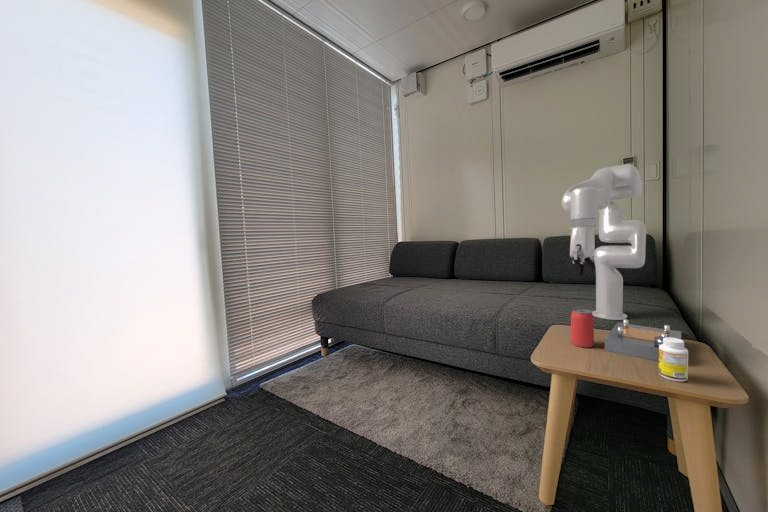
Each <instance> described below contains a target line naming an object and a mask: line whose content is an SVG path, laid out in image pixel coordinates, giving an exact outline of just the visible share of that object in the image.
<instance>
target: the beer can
mask: <svg viewBox="0 0 768 512" xmlns="http://www.w3.org/2000/svg"><path fill="white" fill-rule="evenodd" d="M592 312H593V310H590V309H587V308H574V309H572V312H571V315H570V342H571V344H572V345H573V346H575V347H577V348H578V347H579V348H583V347H584V349H588V348H589V347H590V348H592V347H594V346H595V318H594V317H595V316H593V314H592Z"/></svg>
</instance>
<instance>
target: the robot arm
mask: <svg viewBox="0 0 768 512" xmlns="http://www.w3.org/2000/svg"><path fill="white" fill-rule="evenodd" d="M642 192H643V180H642V179H641V175H640V172H639V170H638V168H637V167H636V166H635V165H634V164H632V163H631V164H630V163H627V164H620V165H614V166H609V167H602V168H600V169H598V170H597V171H595V172H594V173H593V175H592V176H591V177H590V178H589V179H587V180H584V181H582V182H579V183H577V184H574V185H573V186H571V187H569V188H567V190H566V191H565V192H564V194H563V195H562V199H561V207H562V209H563V211H566V212H567V213H570V230H571V233H570V242H569V243H570V246H569V257H570V258H571V259H572V276H575V277H584V276H585V274H594V266H595V310H592V314H593V317H595V318H599V319H601V320H602V319H603V320H610V321H611V320H612V321H623V319H626V320H628V315H627V314H626V313H624V311H623V308H624V307H623V303H624V302H623V301H624V300H623V299H624V298H623V297H624V291H623V290H624V279H623V277H624V276H623V275H622V274H621V272H620V271H619V270H618V269H619V268H620V269H639V268H640V269H641V268H642V267H643V266H644V265H645V263H646V244H647V243H646V242H647V230H646V225H645V223H644V222H643V221H641V220H639V219H638V220H637V219H629V220H624V212H625V211H624V208H623V207H622V206H621V205H620V204H619V203H618V202H617V201H616V200H624V199H633V198H638V197H639V196H640V195H641V194H642ZM598 212H599V216H598ZM598 217H599V219H598ZM598 220H599V221H598ZM595 229H598V238H599V240H600V242H603V243H611V244H612V243H615V244H617V243H618V244H623V243H624V244H625V243H626V244H627V243H629V244H631V245H600V246H598V247H596V246H595V244H596V243H595V242H596V241H595V240H596V239H595ZM595 247H596V248H595Z"/></svg>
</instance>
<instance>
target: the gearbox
mask: <svg viewBox="0 0 768 512" xmlns="http://www.w3.org/2000/svg"><path fill="white" fill-rule="evenodd" d="M622 321H623V322H618V321H617V322H616V323H615V324H614V326H613V327H612V329H611V330H610V331H609V333H608V334H607V335H606V336H605V337H604V351H607V352H612V353H616V354H621V355H626V356H631V357H636V358H640V359H646V360H651V361H654V362H655V361H656V362H659V346H660V345H661V344H663V338H665V337H671V338H677V339H681V340H682V331H680V330H671V326H670V324H669V325H668V324H664V325H663V328H658V327H651V326H646V325H644V326H643V325H639V324H638V325H637V324H631V323H630V324H629V319H623V320H622Z"/></svg>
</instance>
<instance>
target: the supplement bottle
mask: <svg viewBox="0 0 768 512" xmlns="http://www.w3.org/2000/svg"><path fill="white" fill-rule="evenodd" d="M658 374H659V375H660V376H661V377H662V378H664V379H666V380H669V381H673V382H687V381H688V380H689V350H688V349H687V347H685V341H684V340H683V339H682V338H681V339H677V338H671V337H665V338H663V344H661V345H660V346H659V361H658Z"/></svg>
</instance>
